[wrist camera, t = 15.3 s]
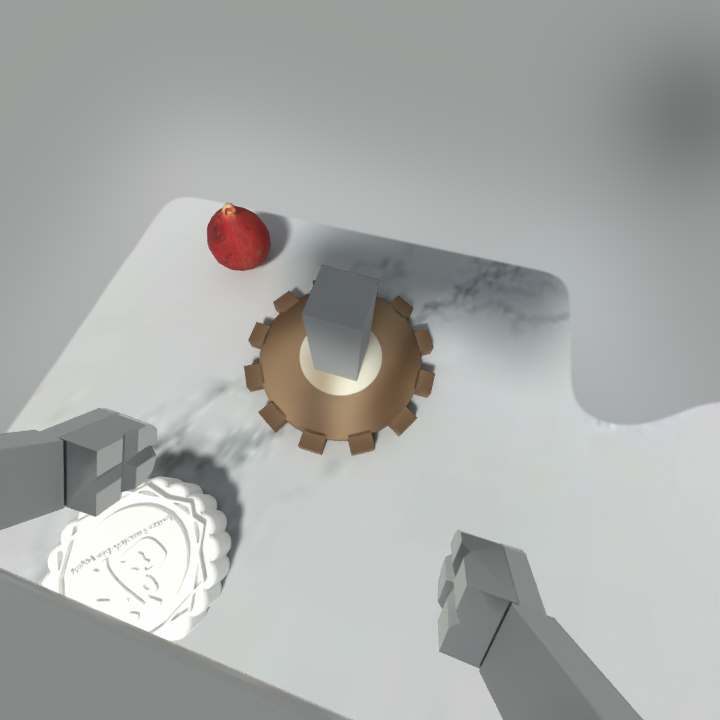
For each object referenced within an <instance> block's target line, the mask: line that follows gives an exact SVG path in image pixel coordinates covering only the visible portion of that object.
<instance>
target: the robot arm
mask: <svg viewBox="0 0 720 720" xmlns="http://www.w3.org/2000/svg"><path fill="white" fill-rule="evenodd" d="M156 441H157V429H156V428H155V427H154V426H153V425H151V424H149V423H146V422H143V421H140V420H138V419H135V418H132V417H130V416H127V415H124V414H121V413H118V412H116V411H113V410H110V409H107V408H98V409H96V410H93V411H91V412H88V413H86V414H83V415H81V416H78V417H76V418H73V419H71V420H68V421H66V422H63V423H60V424H58V425H55V426H53V427H50V428H48V429H45V430H43V431H40V432H39V431H36V430H29V431H20V432H12V433H3V434H0V530H2V529H5V528H8V527H11V526H14V525H17V524H20V523H22V522H25V521H28V520H31V519H34V518H37V517H40V516H43V515H45V514H48V513H51V512H54V511H57V510H60V509H63V508H64V506H66V507H69V508H71V509H74V510H77V511H80V512H83V513H86V514H88V515H91V516H94V517H97V516H98V515H100V514H101V513H102V512H104V511H105V510H107V509H108V508H109V507H111V506H112V505H114V504H115V503H116V502H118V501H119V500H120V499H121V496H122V492H125V491H129V490H132V489H136V488H137V487H138V486H140V485H141V484H142V483H143V482H145V480H146V479H147V478H148V476H149V475H150V474H151V472H152V470H153V467H154V465H155V459H156V454H155V452H154V450H153V448H152V445H153V444H154V443H155V442H156ZM451 551H452V554H451V555H449V556H447V557H445V560H444V563H443V565H442V568H441V573H440V577H439V583H438V602H439V604H440V606H441V607H442V612H441V614H440V617H439V620H438V631H439V652H442V653H444V654H447V655H449V656H451V657H454V658H456V659H458V660H461V661H463V662H465V663H468V664H470V665H472V666H475V667H477V668H479V669H480V670H479V672H480V674H481V676H482V678H483V680H484V682H485V684H486V686H487V688H488V690H489V692H490V694H491V696H492V698H493V700H494V702H495V704H496V706H497V708H498V710H499V712H500V714H501V716H502V718H503V720H643V719H642V718H641V717H640V716H639V714H638V713H637V712H636V711H635V710H634V709H633V708H632V706H631V705H630V704H629V703H628V702H627V701H626V700H625V698H624V697H623V696H622V695H621V694H620V693H619V692H618V690H617V689H616V688H615V687H614V686H613V685H612V684H611V682H610V681H609V680H608V679H607V678H606V677H605V676H604V674H603V673H602V672H601V671H600V670H599V669H598V668H597V666H596V665H595V664H594V663H593V662H592V661H591V660H590V658H589V657H588V656H587V655H586V654H585V653H584V652H583V650H582V649H581V648H580V647H579V646H578V645H577V644H576V642H575V641H574V640H573V639H572V638H571V637H570V636H569V634H568V633H567V632H566V631H565V630H564V629H563V628H562V626H561V625H560V624H559V623H558V622H557V621H556V620H555V618H552V617H550V616H547V614H546V611H545V608H544V606H543V603H542V600H541V597H540V594H539V591H538V588H537V585H536V582H535V580H534V577H533V574H532V571H531V568H530V565H529V562H528V559H527V556H526V554H525V553H524V552H523V550H520V549H517V548H514V547H511V546H508V545H504V544H501V543H500V544H499V543H496V542H493V541H490V540H487V539H484V538H481V537H478V536H475V535H472V534H469V533H466V532H463V531H460V530H457V531H456V533H455V534H454V537H453V539H452V542H451ZM0 720H352V719H350V718H347V717H345V716H343V715H340V714H338V713H336V712H333V711H331V710H329V709H326V708H324V707H322V706H319V705H317V704H315V703H312V702H310V701H308V700H305V699H303V698H301V697H298V696H296V695H294V694H291V693H289V692H287V691H284V690H282V689H280V688H277V687H275V686H273V685H270V684H268V683H266V682H263V681H261V680H259V679H256V678H254V677H252V676H249V675H247V674H245V673H242V672H240V671H238V670H235V669H233V668H231V667H228V666H226V665H224V664H222V663H219V662H217V661H215V660H212V659H210V658H208V657H205V656H203V655H201V654H198V653H196V652H194V651H191V650H189V649H187V648H185V647H182V646H180V645H178V644H175V643H173V642H171V641H168V640H166V639H164V638H161V637H159V636H157V635H154V634H152V633H150V632H148V631H145V630H143V629H141V628H138V627H136V626H134V625H131V624H129V623H127V622H124V621H122V620H120V619H117V618H115V617H113V616H111V615H108V614H106V613H104V612H101V611H99V610H97V609H94V608H92V607H90V606H87V605H85V604H83V603H81V602H78V601H76V600H74V599H71V598H69V597H67V596H64V595H62V594H60V593H57V592H55V591H53V590H50V589H48V588H46V587H43V586H41V585H39V584H36V583H34V582H32V581H30V580H27V579H25V578H23V577H20V576H18V575H16V574H13V573H11V572H9V571H6V570H4V569H2V568H0Z"/></svg>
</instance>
